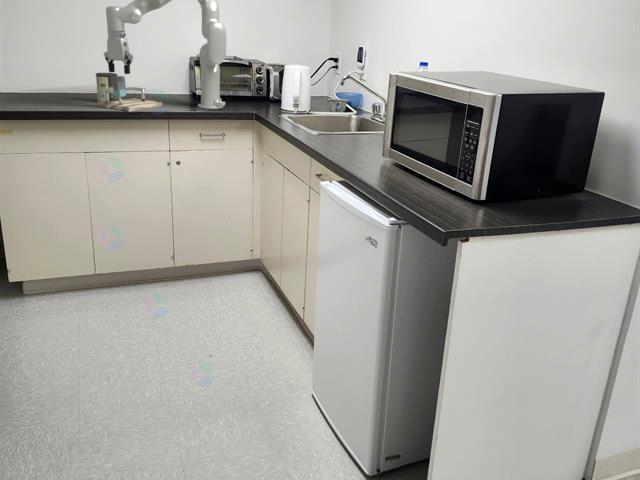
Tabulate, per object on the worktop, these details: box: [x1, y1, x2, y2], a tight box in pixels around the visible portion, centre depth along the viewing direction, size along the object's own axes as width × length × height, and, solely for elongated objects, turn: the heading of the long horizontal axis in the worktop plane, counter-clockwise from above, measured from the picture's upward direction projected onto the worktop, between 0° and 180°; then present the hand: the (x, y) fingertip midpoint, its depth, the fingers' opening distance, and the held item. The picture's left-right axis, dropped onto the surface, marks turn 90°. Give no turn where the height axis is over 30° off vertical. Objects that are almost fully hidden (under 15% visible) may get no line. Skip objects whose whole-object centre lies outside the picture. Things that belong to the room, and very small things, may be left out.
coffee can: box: [95, 72, 119, 104], centre depth 297 cm, size 10×10×14 cm
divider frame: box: [104, 86, 146, 103], centre depth 289 cm, size 8×20×6 cm, turn 153°
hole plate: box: [100, 97, 163, 113], centre depth 290 cm, size 18×23×2 cm
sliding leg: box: [112, 75, 127, 103], centre depth 281 cm, size 4×5×12 cm
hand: (119, 73), depth 278 cm, fingers open, 9 cm apart
